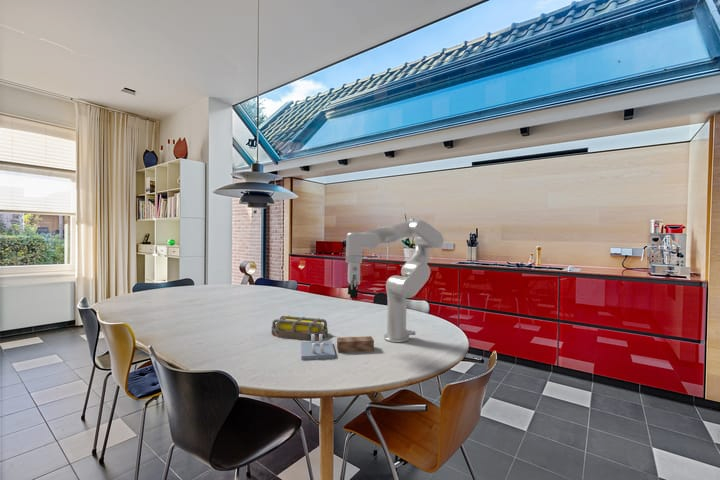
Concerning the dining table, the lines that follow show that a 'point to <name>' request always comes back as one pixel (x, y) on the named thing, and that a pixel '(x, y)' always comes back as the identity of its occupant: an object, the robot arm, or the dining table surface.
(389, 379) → the dining table surface
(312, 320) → the cage light
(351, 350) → the brick
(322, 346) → the peg stand
